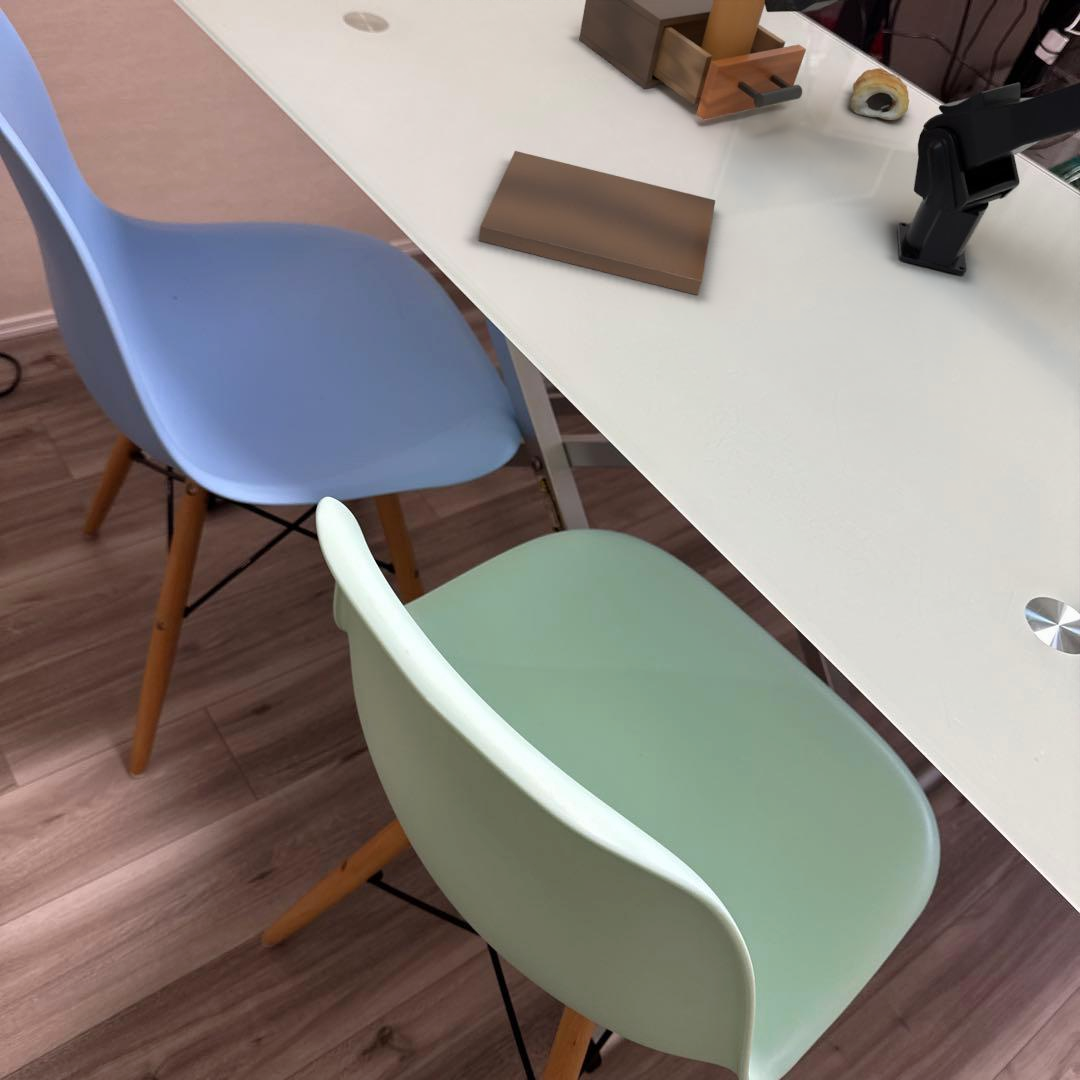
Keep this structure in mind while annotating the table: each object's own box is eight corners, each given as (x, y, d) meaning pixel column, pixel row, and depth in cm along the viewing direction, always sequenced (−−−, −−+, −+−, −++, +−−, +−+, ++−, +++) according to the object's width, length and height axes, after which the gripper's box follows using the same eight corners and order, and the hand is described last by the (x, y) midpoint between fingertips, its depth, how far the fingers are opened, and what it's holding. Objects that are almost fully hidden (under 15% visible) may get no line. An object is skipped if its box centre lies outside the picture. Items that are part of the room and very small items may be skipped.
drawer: (814, 118, 110) (833, 66, 106) (728, 139, 104) (745, 85, 100) (722, 55, 117) (737, 4, 113) (637, 71, 111) (649, 18, 107)
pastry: (850, 79, 120) (863, 48, 118) (904, 94, 120) (917, 63, 117) (846, 112, 114) (859, 80, 111) (902, 128, 114) (917, 96, 111)
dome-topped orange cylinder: (739, 93, 109) (775, -26, 100) (691, 81, 109) (723, -38, 100) (742, 73, 112) (777, -44, 103) (696, 61, 113) (727, -56, 103)
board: (697, 295, 87) (702, 281, 85) (478, 240, 87) (480, 225, 86) (711, 213, 96) (715, 199, 95) (512, 164, 96) (514, 150, 95)
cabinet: (736, 70, 117) (756, 4, 112) (644, 89, 111) (660, 19, 105) (670, 24, 123) (685, -41, 117) (578, 39, 116) (590, -29, 111)
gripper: (975, -181, 88) (841, -91, 101) (836, -175, 79) (710, -77, 93) (1000, -50, 90) (865, 21, 104) (868, -30, 82) (740, 45, 95)
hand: (798, 1), depth 99 cm, fingers open, 9 cm apart
